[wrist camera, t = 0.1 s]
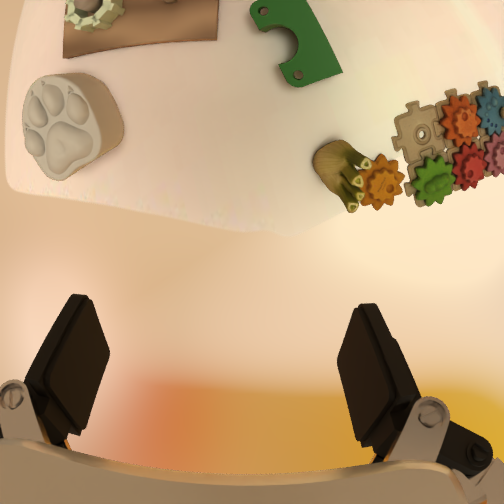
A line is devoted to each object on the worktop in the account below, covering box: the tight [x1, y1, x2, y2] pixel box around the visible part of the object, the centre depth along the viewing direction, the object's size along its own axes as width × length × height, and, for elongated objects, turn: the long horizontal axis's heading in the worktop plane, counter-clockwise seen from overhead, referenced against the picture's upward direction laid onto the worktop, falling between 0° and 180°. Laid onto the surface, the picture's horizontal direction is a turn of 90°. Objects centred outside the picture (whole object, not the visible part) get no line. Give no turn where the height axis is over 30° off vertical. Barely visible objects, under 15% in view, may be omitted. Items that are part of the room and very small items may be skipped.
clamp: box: [250, 0, 343, 87], centre depth 28 cm, size 12×6×9 cm, turn 20°
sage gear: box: [64, 0, 125, 32], centre depth 24 cm, size 7×7×4 cm
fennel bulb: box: [313, 140, 372, 213], centre depth 33 cm, size 6×5×12 cm
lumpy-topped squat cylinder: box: [22, 73, 124, 181], centre depth 30 cm, size 10×13×9 cm
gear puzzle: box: [358, 81, 504, 210], centre depth 36 cm, size 31×16×4 cm, turn 115°
